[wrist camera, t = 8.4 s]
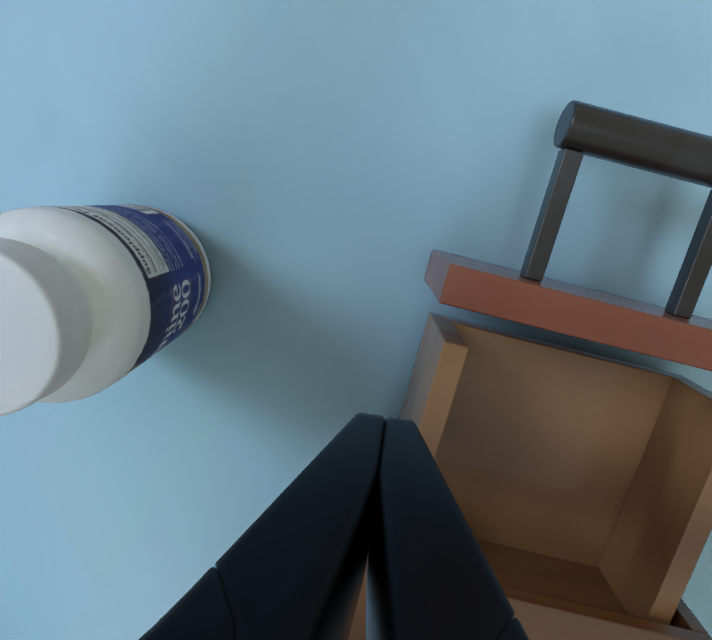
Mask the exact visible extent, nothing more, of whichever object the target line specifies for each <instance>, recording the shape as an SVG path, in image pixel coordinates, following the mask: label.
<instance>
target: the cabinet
mask: <svg viewBox="0 0 712 640" xmlns="http://www.w3.org/2000/svg"><path fill="white" fill-rule="evenodd" d="M369 546H370V543H369ZM368 554H369V551H368ZM367 564H368V558H367ZM367 564H366V570H365V574H364V579H363V583H362V587H361V591H360V595H359V599H358V603H357V606H356V610H355V614H354V618H353V622H352V626H351V630H350V633H349V637H348V640H366V582H367ZM501 587H502V589H503V591H504V593H505V595H506V596H507V598H508V600H509V602H510V604H511V606H512V608H513V610H514V612H515V617H514V618H517V619H519V621H520V623H521V624H522V626H523V628H524V630H525V632H526V634H527V636H528V638H529V640H712V638H711V637H710V635H708V632H707V631H706V630H705V629H704V627H703V626H702V625H701V623H700V622H699V621H698V620H697V618H696V617H695V616H694V614H693V613H692V612H691V611H690V609H689V608H688V607H687V605H686V604H685V603H684V602H683V600H682V599H680V602H679V604H678V606H677V608H676V611H675V613H674V615H673V617H672V620H671V622H670V624H669V625H666V624H662V623H658V622H654V621H649V620H645V619H641V618H637V617H632V616H628V615H624V614H620V613H615V612H611V611H607V610H603V609H598V608H594V607H590V606H586V605H581V604H577V603H573V602H569V601H564V600H560V599H556V598H552V597H547V596H543V595H539V594H535V593H530V592H526V591H522V590H517V589H513V588H509V587H505V586H501Z"/></svg>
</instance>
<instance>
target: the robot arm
mask: <svg viewBox="0 0 712 640" xmlns="http://www.w3.org/2000/svg"><path fill="white" fill-rule="evenodd" d="M384 427H385V428H384ZM371 528H372V529H371ZM370 536H371V538H370ZM369 543H370V546H369ZM368 551H369V554H368ZM367 558H368V564H367ZM366 564H367V582H366V640H529V638H528V636H527V634H526V632H525V630H524V628H523V626H522V624H521V623H520V621H519V619H517V618H514V617H515V612H514V610H513V608H512V606H511V604H510V602H509V600H508V598H507V596H506V595H505V593H504V591H503V589H502V587H501V585H500V583H499V581H498V579H497V577H496V576H495V574H494V572H493V570H492V568H491V566H490V564H489V562H488V560H487V558H486V557H485V555H484V553H483V551H482V549H481V547H480V545H479V543H478V541H477V539H476V537H475V536H474V534H473V532H472V530H471V528H470V526H469V524H468V522H467V520H466V518H465V517H464V515H463V513H462V511H461V509H460V507H459V505H458V503H457V501H456V499H455V498H454V496H453V494H452V492H451V490H450V488H449V486H448V484H447V482H446V480H445V478H444V477H443V475H442V473H441V471H440V469H439V467H438V465H437V463H436V461H435V459H434V458H433V456H432V454H431V452H430V450H429V448H428V446H427V444H426V442H425V440H424V439H423V437H422V435H421V433H420V431H419V429H418V427H417V425H416V424H415V422H414V421H412V420H408V419H401V418H394V417H389V418H387V419H386V422H385V419H384V417H383V416H379V415H372V414H365V413H358V414H356V415H355V416H354V417H353V418H352V419H351V421H350V422H349V423H348V424H347V425H346V426H345V427H344V428H343V429H342V430H341V431H340V432H339V433H338V434H337V435H336V436H335V437H334V439H333V440H332V441H331V442H330V443H329V444H328V445H327V446H326V447H325V448H324V449H323V450H322V451H321V452H320V453H319V454H318V455H317V456H316V458H315V459H314V460H313V461H312V462H311V463H310V464H309V465H308V466H307V467H306V468H305V469H304V470H303V471H302V472H301V473H300V474H299V475H298V477H297V478H296V479H295V480H294V481H293V482H292V483H291V484H290V485H289V486H288V487H287V488H286V489H285V490H284V491H283V492H282V493H281V494H280V496H279V497H278V498H277V499H276V500H275V501H274V502H273V503H272V504H271V505H270V506H269V507H268V508H267V509H266V510H265V511H264V512H263V513H262V515H261V516H260V517H259V518H258V519H257V520H256V521H255V522H254V523H253V524H252V525H251V526H250V527H249V528H248V529H247V530H246V531H245V532H244V534H243V535H242V536H241V537H240V538H239V539H238V540H237V541H236V542H235V543H234V544H233V545H232V546H231V547H230V548H229V549H228V550H227V552H226V553H225V554H224V555H223V556H222V557H221V558H220V559H219V560H218V561H217V562H216V564H215V567H216V568H215V567H211V568H210V569H209V570H208V571H207V572H206V573H205V574H204V575H203V576H202V578H201V579H200V580H199V581H198V582H197V583H196V584H195V585H194V586H193V587H192V588H191V589H190V590H189V591H188V592H187V593H186V594H185V595H184V596H183V597H182V598H181V599H180V600H179V601H178V602H177V603H176V604H175V605H174V606H173V607H172V608H171V609H170V610H169V611H168V612H167V613H166V614H165V615H164V616H163V617H162V618H161V619H160V620H159V621H158V622H157V623H156V624H155V625H154V626H153V627H152V628H151V629H150V630H149V631H148V632H146V633H145V634H144V635H143V636H142V637H141V638H140V639H139V640H348V637H349V633H350V630H351V626H352V622H353V618H354V614H355V610H356V606H357V603H358V599H359V595H360V591H361V587H362V583H363V579H364V574H365V570H366Z"/></svg>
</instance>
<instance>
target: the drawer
mask: <svg viewBox="0 0 712 640" xmlns="http://www.w3.org/2000/svg"><path fill="white" fill-rule="evenodd" d="M554 145H555V146H556V147H557V148H561V150H559V153H558V156H557V159H556V162H555V165H554V168H553V172H552V175H551V178H550V181H549V184H548V187H547V190H546V194H545V197H544V200H543V203H542V206H541V209H540V212H539V216H538V219H537V222H536V225H535V228H534V231H533V234H532V238H531V241H530V244H529V247H528V250H527V253H526V256H525V259H524V263H523V266H522V269H521V271H517V270H513V269H509V268H505V267H501V266H497V265H493V264H490V263H486V262H482V261H478V260H474V259H470V258H466V257H462V256H458V255H454V254H450V253H446V252H442V251H438V250H434V249H433V250H432V252H431V256H430V259H429V263H428V266H427V270H426V273H425V277H424V280H425V282H426V283H427V285H428V286H429V288H430V289H431V291H432V292H433V294H434V295H435V297H436V298H437V300H438V301H439V302H440V303H442V304H446V305H450V306H454V307H458V308H462V309H466V310H470V311H474V312H478V313H482V314H486V315H490V316H494V317H498V318H502V319H506V320H510V321H514V322H518V323H522V324H526V325H530V326H534V327H538V328H542V329H546V330H550V331H554V332H558V333H562V334H566V335H570V336H573V337H577V338H581V339H585V340H589V341H593V342H597V343H601V344H605V345H609V346H613V347H617V348H621V349H625V350H629V351H633V352H637V353H641V354H645V355H649V356H653V357H657V358H661V359H665V360H669V361H673V362H677V363H681V364H685V365H689V366H693V367H697V368H701V369H705V370H709V371H712V320H710V319H706V318H702V317H698V316H694V315H692V313H693V311H694V308H695V306H696V303H697V301H698V298H699V296H700V293H701V290H702V288H703V285H704V283H705V280H706V278H707V275H708V273H709V270H710V268H711V265H712V190H711V191H710V193H709V196H708V199H707V201H706V204H705V206H704V209H703V212H702V214H701V217H700V219H699V222H698V225H697V227H696V230H695V232H694V235H693V238H692V240H691V243H690V245H689V248H688V251H687V253H686V256H685V258H684V261H683V264H682V266H681V269H680V271H679V274H678V277H677V279H676V282H675V285H674V287H673V290H672V292H671V295H670V298H669V300H668V303H667V305H666V308H663V307H659V306H655V305H651V304H647V303H643V302H639V301H635V300H631V299H627V298H623V297H619V296H615V295H612V294H608V293H604V292H600V291H596V290H592V289H588V288H584V287H580V286H576V285H572V284H568V283H564V282H560V281H556V280H552V279H549V278H545V277H543V276H544V273H545V270H546V267H547V264H548V261H549V258H550V255H551V252H552V249H553V246H554V243H555V240H556V237H557V234H558V231H559V228H560V224H561V221H562V218H563V215H564V212H565V209H566V206H567V203H568V200H569V197H570V194H571V191H572V188H573V185H574V182H575V179H576V176H577V173H578V170H579V167H580V164H581V161H582V158H583V154H584V155H588V156H591V157H595V158H599V159H603V160H607V161H610V162H614V163H618V164H622V165H626V166H630V167H633V168H637V169H641V170H645V171H649V172H652V173H656V174H660V175H664V176H668V177H672V178H675V179H679V180H683V181H687V182H691V183H694V184H698V185H702V186H706V187H710V188H712V137H711V136H707V135H704V134H700V133H696V132H692V131H688V130H685V129H681V128H677V127H673V126H670V125H666V124H662V123H658V122H655V121H651V120H647V119H643V118H639V117H636V116H632V115H628V114H624V113H621V112H617V111H613V110H609V109H605V108H602V107H598V106H594V105H590V104H587V103H583V102H579V101H575V100H574V101H571V102H569V103H568V105H567V106H566V107H565V109H564V111H563V112H562V114H561V116H560V119H559V121H558V124H557V127H556V130H555V135H554ZM399 418H401V419H408V420H412V421H414V422H415V424H416V425H417V427H418V429H419V431H420V433H421V435H422V437H423V439H424V440H425V442H426V444H427V446H428V448H429V450H430V452H431V454H432V456H433V458H434V459H435V461H436V463H437V465H438V467H439V469H440V471H441V473H442V475H443V477H444V478H445V480H446V482H447V484H448V486H449V488H450V490H451V492H452V494H453V496H454V498H455V499H456V501H457V503H458V505H459V507H460V509H461V511H462V513H463V515H464V517H465V518H466V520H467V522H468V524H469V526H470V528H471V530H472V532H473V534H474V536H475V537H476V539H477V541H478V543H479V545H480V547H481V549H482V551H483V553H484V555H485V557H486V558H487V560H488V562H489V564H490V566H491V568H492V570H493V572H494V574H495V576H496V577H497V579H498V581H499V583H500V585H501V586H505V587H509V588H513V589H517V590H522V591H526V592H530V593H535V594H539V595H543V596H547V597H552V598H556V599H560V600H564V601H569V602H573V603H577V604H581V605H586V606H590V607H594V608H598V609H603V610H607V611H611V612H615V613H620V614H624V615H628V616H632V617H637V618H641V619H645V620H649V621H654V622H658V623H662V624H666V625H669V624H670V622H671V620H672V617H673V615H674V613H675V611H676V608H677V606H678V604H679V602H680V599H681V597H682V595H683V593H684V590H685V588H686V586H687V584H688V581H689V579H690V577H691V575H692V572H693V570H694V568H695V566H696V563H697V561H698V559H699V557H700V554H701V552H702V550H703V548H704V545H705V543H706V541H707V539H708V536H709V534H710V532H711V530H712V393H711V392H709V391H708V390H706V389H704V388H702V387H701V386H699V385H697V384H695V383H693V382H692V381H690V380H688V379H686V378H685V377H683V376H681V375H677V374H673V373H669V372H665V371H661V370H657V369H653V368H649V367H645V366H641V365H637V364H633V363H629V362H625V361H621V360H617V359H613V358H609V357H605V356H601V355H597V354H593V353H589V352H585V351H581V350H577V349H573V348H569V347H565V346H561V345H557V344H553V343H549V342H545V341H541V340H537V339H533V338H529V337H525V336H521V335H517V334H513V333H509V332H505V331H501V330H497V329H493V328H489V327H485V326H481V325H477V324H473V323H469V322H465V321H461V320H457V319H453V318H449V317H445V316H441V315H437V314H433V313H429V315H428V318H427V322H426V325H425V329H424V332H423V336H422V339H421V343H420V346H419V350H418V353H417V357H416V360H415V364H414V367H413V371H412V374H411V378H410V381H409V385H408V388H407V392H406V395H405V399H404V402H403V406H402V409H401V413H400V416H399ZM371 529H372V528H371ZM370 538H371V536H370Z"/></svg>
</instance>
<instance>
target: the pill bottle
mask: <svg viewBox="0 0 712 640" xmlns="http://www.w3.org/2000/svg"><path fill="white" fill-rule="evenodd" d="M210 286H211V273H210V266H209V262H208V259H207V256H206V253H205V251H204V248H203V246H202V244H201V243H200V241H199V240H198V238H197V237H196V236H195V234H194V233H193V232H192V231H191V230H190V229H189V228H188V227H187V226H186V225H185V224H184V223H183V222H182V221H180V220H179V219H178V218H176V217H174V216H172V215H171V214H169V213H167V212H165V211H162V210H159V209H156V208H153V207H148V206H139V205H106V206H100V205H95V206H50V207H49V206H38V207H29V208H21V209H15V210H10V211H7V212H3V213H0V416H3V415H7V414H11V413H14V412H16V411H19V410H21V409H24V408H26V407H28V406H30V405H32V404H34V403H35V402H37V401H38V402H47V403H60V402H70V401H75V400H80V399H83V398H87V397H89V396H92V395H94V394H96V393H99V392H100V391H102V390H104V389H106V388H107V387H109V386H111V385H112V384H114V383H115V382H117V381H118V380H120V379H121V378H122V377H124V376H125V375H127V374H128V373H129V372H130V371H132V370H133V369H135V368H136V367H138V366H139V365H140V364H142V363H143V362H145V361H146V360H147V359H149V358H150V357H152V356H153V355H154V354H155V353H157V352H158V351H159V350H161V349H162V348H163V347H165V346H166V345H167V344H169V343H170V342H172V341H173V340H174V339H175V338H177V337H178V336H180V335H181V334H182V333H183V332H184V331H186V330H187V329H188V328H189V327H190V326H191V325H192V324H193V323H194V322H195V321H196V320H197V319H198V317H199V316H200V314H201V313H202V311H203V309H204V308H205V305H206V302H207V299H208V296H209V293H210Z"/></svg>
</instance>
